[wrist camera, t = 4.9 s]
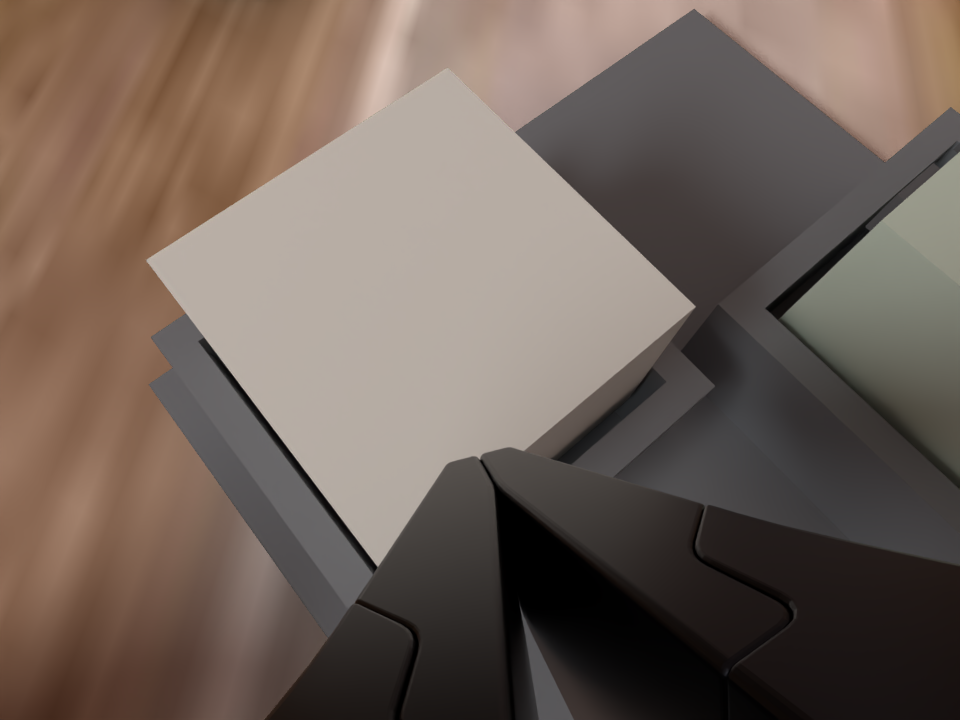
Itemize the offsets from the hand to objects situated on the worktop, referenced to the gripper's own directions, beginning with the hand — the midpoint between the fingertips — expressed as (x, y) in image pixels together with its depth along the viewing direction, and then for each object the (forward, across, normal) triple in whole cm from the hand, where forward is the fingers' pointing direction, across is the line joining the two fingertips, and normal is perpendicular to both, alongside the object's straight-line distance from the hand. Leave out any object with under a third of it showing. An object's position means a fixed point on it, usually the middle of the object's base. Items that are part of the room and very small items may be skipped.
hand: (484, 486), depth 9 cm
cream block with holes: (+9, 0, -3) cm, 9 cm away
